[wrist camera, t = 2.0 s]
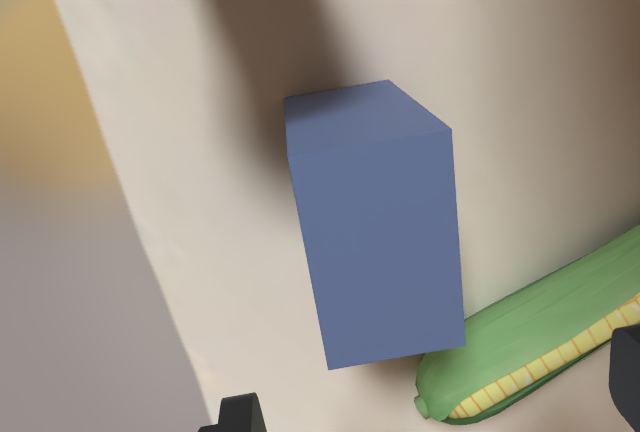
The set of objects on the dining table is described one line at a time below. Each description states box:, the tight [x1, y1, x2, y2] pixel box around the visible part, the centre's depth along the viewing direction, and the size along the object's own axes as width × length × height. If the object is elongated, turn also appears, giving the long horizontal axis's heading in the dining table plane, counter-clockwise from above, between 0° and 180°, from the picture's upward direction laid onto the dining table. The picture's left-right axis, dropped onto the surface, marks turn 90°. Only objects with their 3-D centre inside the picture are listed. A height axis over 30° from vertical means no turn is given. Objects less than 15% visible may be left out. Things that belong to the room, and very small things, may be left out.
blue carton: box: [284, 80, 466, 370], centre depth 22 cm, size 5×8×10 cm, turn 9°
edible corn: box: [414, 224, 640, 425], centre depth 29 cm, size 5×20×5 cm, turn 125°
